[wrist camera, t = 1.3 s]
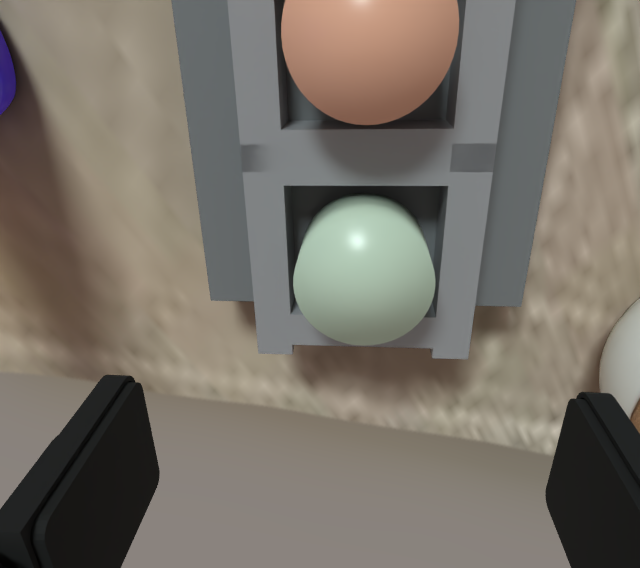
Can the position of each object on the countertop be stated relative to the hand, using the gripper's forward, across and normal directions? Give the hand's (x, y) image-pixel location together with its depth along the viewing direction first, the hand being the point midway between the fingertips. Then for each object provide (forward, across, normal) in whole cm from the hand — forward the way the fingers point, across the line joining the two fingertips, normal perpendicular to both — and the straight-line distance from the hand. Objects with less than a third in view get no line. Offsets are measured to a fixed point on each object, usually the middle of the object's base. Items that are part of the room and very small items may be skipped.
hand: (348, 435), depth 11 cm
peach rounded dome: (+10, 0, -8) cm, 13 cm away
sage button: (+10, 0, 0) cm, 10 cm away
